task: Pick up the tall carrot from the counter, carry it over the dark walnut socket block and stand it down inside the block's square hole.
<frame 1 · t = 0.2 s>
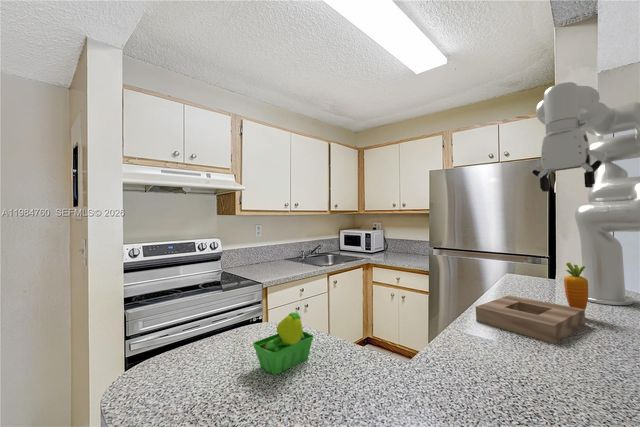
hand: (566, 189, 80), 35 cm above the countertop, tool pointing down, fingers open, 9 cm apart
socket block: (528, 323, 76), on the countertop
carrot: (578, 318, 78), on the countertop
fruit basket: (286, 364, 61), on the countertop
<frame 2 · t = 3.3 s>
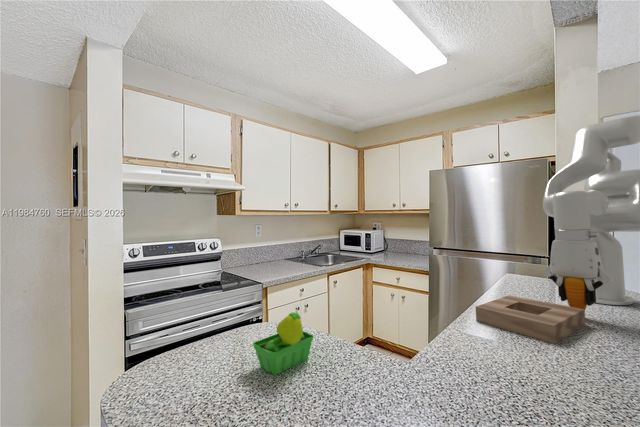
hand: (577, 301, 78), 4 cm above the countertop, tool pointing down, fingers closed on carrot, 4 cm apart
carrot: (578, 318, 78), on the countertop, touching gripper
everything else where it was.
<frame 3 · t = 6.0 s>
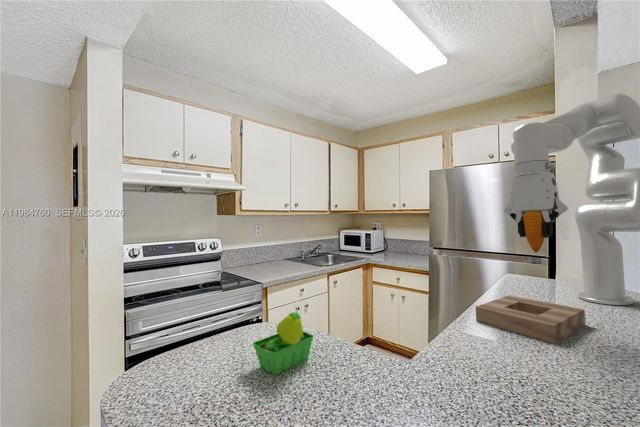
hand: (535, 236, 77), 23 cm above the countertop, tool pointing down, fingers closed on carrot, 4 cm apart
carrot: (536, 253, 77), point 18 cm above the countertop, touching gripper
everything else where it was.
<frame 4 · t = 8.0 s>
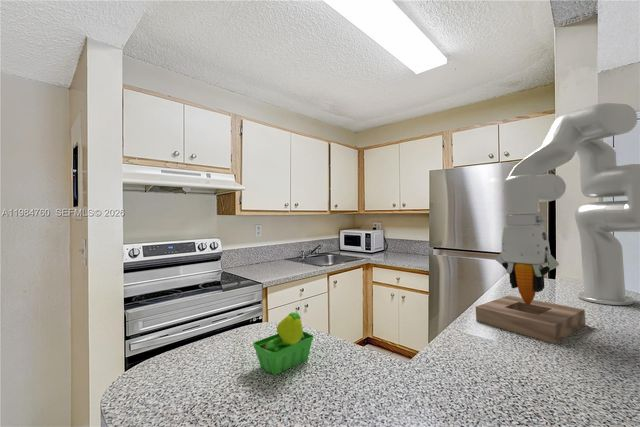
hand: (526, 288, 77), 9 cm above the countertop, tool pointing down, fingers closed on carrot, 4 cm apart
carrot: (527, 305, 76), point 5 cm above the countertop, touching gripper
everything else where it was.
when the fingers open (6 cm above the countertop, at t = 9.0 s): carrot drops 1 cm, resting in socket block.
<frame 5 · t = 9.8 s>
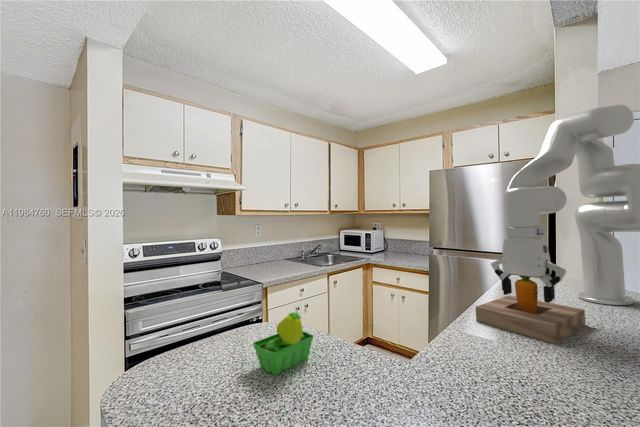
hand: (527, 297, 76), 7 cm above the countertop, tool pointing down, fingers open, 9 cm apart
carrot: (528, 323, 77), resting in socket block
everything else where it was.
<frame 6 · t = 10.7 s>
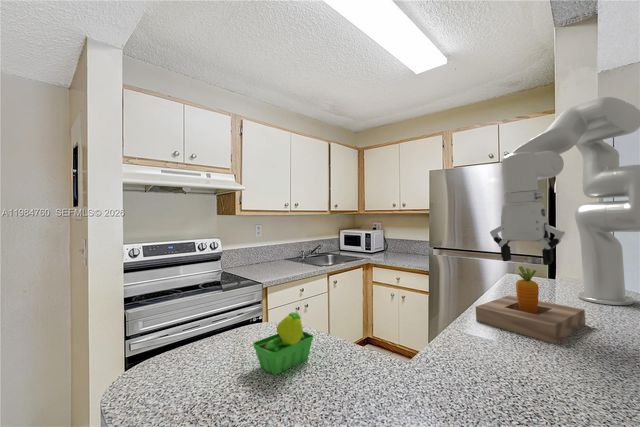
hand: (526, 262, 77), 16 cm above the countertop, tool pointing down, fingers open, 9 cm apart
nothing on the countertop moved.
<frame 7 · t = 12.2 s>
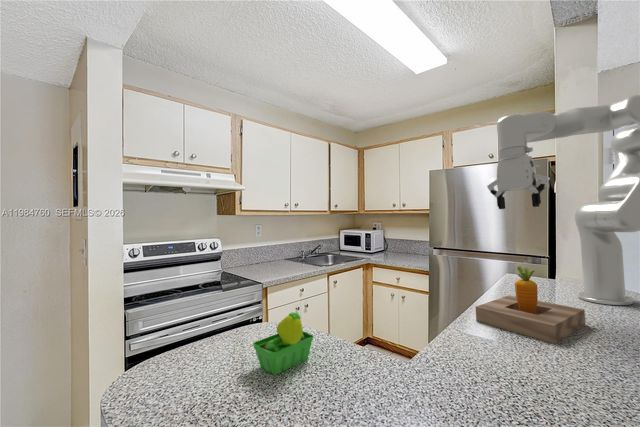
hand: (518, 207, 91), 31 cm above the countertop, tool pointing down, fingers open, 9 cm apart
nothing on the countertop moved.
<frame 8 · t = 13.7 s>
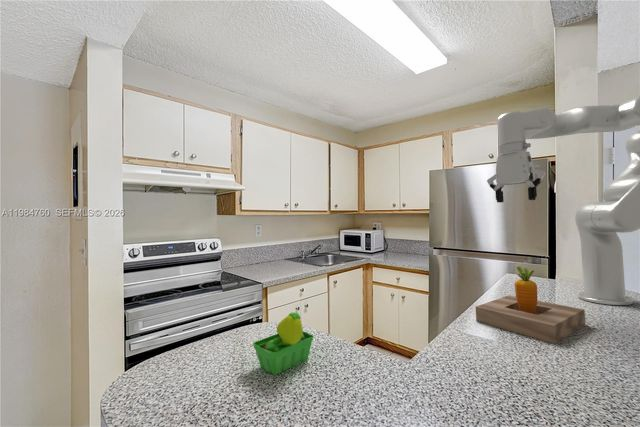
hand: (515, 201, 95), 33 cm above the countertop, tool pointing down, fingers open, 9 cm apart
nothing on the countertop moved.
at the end: carrot 0.2 cm off-centre on the socket block, point 0.0 cm above the socket block's base; carrot tilted 0°; the gripper is holding nothing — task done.
